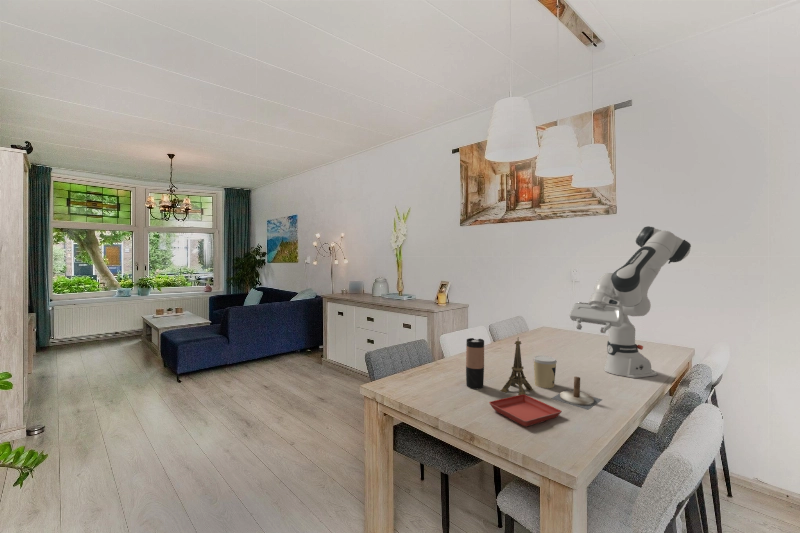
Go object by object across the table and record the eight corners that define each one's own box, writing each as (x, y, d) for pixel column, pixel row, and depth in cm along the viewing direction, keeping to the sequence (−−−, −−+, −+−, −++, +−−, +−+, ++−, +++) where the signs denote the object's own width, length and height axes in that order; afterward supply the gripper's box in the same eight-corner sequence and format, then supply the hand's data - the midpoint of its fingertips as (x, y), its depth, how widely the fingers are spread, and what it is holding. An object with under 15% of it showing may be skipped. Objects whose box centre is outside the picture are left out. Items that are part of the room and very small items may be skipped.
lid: (581, 392, 155) (582, 372, 155) (600, 404, 143) (601, 382, 143) (554, 393, 154) (554, 373, 153) (570, 405, 142) (571, 383, 141)
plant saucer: (523, 401, 148) (523, 393, 148) (562, 419, 132) (563, 410, 132) (487, 410, 139) (487, 401, 139) (525, 431, 123) (525, 421, 123)
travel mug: (473, 390, 158) (473, 343, 157) (462, 384, 165) (462, 339, 164) (487, 387, 162) (488, 341, 161) (476, 381, 169) (476, 337, 168)
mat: (566, 390, 158) (566, 389, 158) (602, 400, 148) (602, 399, 148) (550, 399, 149) (550, 398, 149) (588, 410, 139) (588, 409, 139)
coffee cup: (558, 390, 158) (558, 362, 158) (534, 388, 160) (535, 360, 160) (553, 382, 167) (554, 356, 167) (531, 381, 169) (532, 354, 169)
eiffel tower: (524, 397, 151) (525, 335, 150) (499, 391, 158) (500, 331, 157) (534, 390, 159) (535, 331, 158) (510, 384, 166) (511, 327, 165)
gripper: (573, 297, 168) (562, 322, 162) (624, 302, 153) (615, 329, 147) (577, 306, 171) (567, 330, 165) (627, 312, 156) (618, 339, 150)
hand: (590, 330), depth 156 cm, fingers open, 8 cm apart
